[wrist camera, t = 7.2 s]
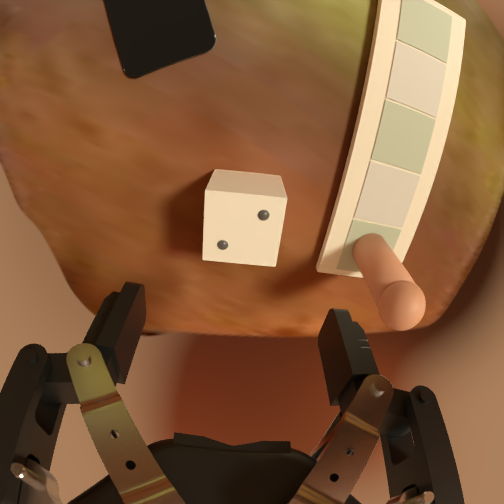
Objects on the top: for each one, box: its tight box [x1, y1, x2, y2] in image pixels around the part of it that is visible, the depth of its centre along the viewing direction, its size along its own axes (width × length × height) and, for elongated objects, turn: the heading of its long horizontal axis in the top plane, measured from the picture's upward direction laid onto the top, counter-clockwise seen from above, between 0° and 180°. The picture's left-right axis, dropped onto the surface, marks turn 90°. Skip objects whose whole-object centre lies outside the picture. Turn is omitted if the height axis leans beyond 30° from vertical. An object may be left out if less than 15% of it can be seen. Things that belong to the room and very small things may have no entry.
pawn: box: [352, 233, 426, 330], centre depth 20 cm, size 3×3×9 cm
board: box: [316, 0, 466, 278], centre depth 20 cm, size 8×26×1 cm, turn 171°
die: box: [203, 169, 287, 267], centre depth 21 cm, size 5×5×5 cm
